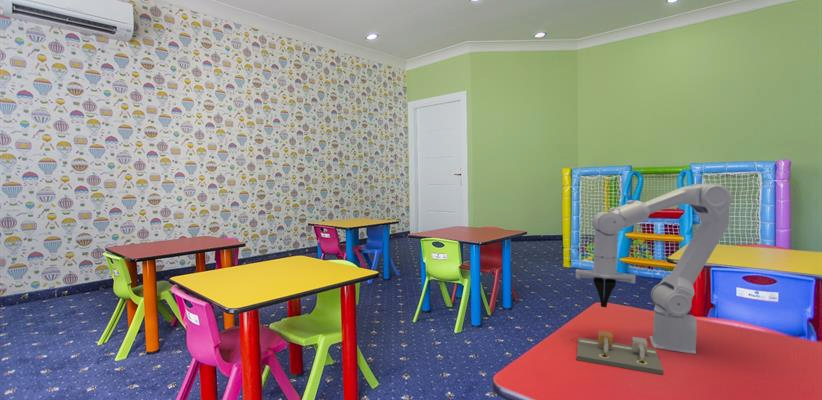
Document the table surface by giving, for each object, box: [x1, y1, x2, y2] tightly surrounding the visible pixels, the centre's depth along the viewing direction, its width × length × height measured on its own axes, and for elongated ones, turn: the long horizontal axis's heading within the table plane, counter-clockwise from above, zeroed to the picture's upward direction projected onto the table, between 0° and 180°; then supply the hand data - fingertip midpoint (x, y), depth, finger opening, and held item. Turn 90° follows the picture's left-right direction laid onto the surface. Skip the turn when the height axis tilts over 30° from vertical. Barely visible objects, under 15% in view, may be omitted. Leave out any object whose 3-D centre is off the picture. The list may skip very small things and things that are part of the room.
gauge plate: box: [576, 337, 664, 375], centre depth 102 cm, size 18×13×2 cm
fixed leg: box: [631, 336, 648, 362], centre depth 99 cm, size 3×8×3 cm, turn 156°
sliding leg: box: [598, 330, 613, 356], centre depth 102 cm, size 3×8×3 cm, turn 156°
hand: (603, 306), depth 112 cm, fingers closed
